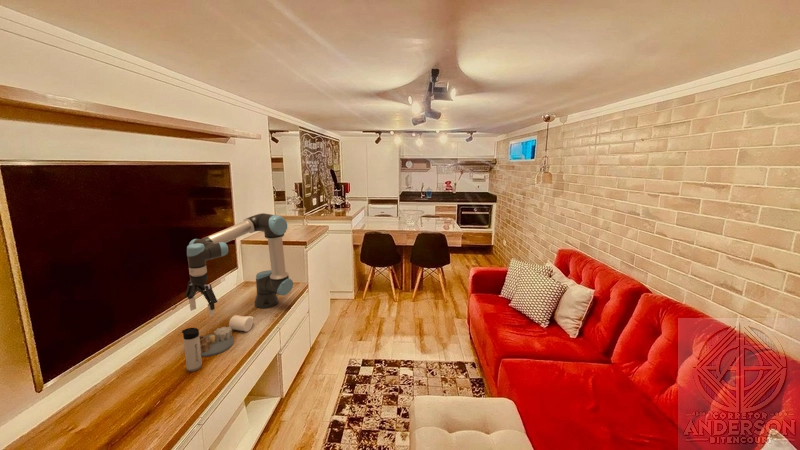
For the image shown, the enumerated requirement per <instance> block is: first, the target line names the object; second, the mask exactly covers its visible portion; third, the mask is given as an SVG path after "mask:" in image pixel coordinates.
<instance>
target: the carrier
mask: <svg viewBox="0 0 800 450" xmlns="http://www.w3.org/2000/svg"><path fill="white" fill-rule="evenodd" d="M205 336H206V338H208V339H209V340H210V345H211V348H210V349H208V351H207V352H202V354H201V358H203V357H204V358H207V357H213V356H217V355H219V354H220V355H221V353H224V352H226V351H227V350H229V349H231V347H232V346H234V343H235V341H234V340H235V338H234V336H233V329H231V327H229V326H227V327H226V326H222V327H217V328H216V329H215V330H213V333H211V334H210V333H209V334H207V335H205Z"/></svg>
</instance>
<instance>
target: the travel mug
mask: <svg viewBox="0 0 800 450" xmlns="http://www.w3.org/2000/svg"><path fill="white" fill-rule="evenodd" d="M199 331H200V330H199V328H197V327H188V328H185V329H182V331H181V333H182V335H183V347H184V357H185V367H186V371H187V372H195V371H199V370H200V369H201V368H202V366H203V359H202V357H201V348H200V337H199V336H200V332H199Z"/></svg>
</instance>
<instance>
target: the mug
mask: <svg viewBox="0 0 800 450" xmlns="http://www.w3.org/2000/svg"><path fill="white" fill-rule="evenodd" d="M253 323H254V317H253V316H251V315H250V316H249V315H247V316H243V315H237V314H236V315H235V314H234V315H233V316H232V317H230V319H229V322H228V327H231V329H232V331H233V330H234V331H240V332H246V333H247V332H249V331H250V330H251V329H252V326H253Z"/></svg>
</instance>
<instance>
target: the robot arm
mask: <svg viewBox="0 0 800 450" xmlns="http://www.w3.org/2000/svg"><path fill="white" fill-rule="evenodd" d="M287 230H288V223H287V220H286V219H285V218H284V217H283V216H281V215H277V214H270V213H264V212H263V213H257V214H254V215H251V216H249V217H247V218H244V219H243V221H242V222H239V223H236V224H234V225H231V226H229V227H227V228H225V229H223V230H220V231H217V232H215V233H212V234H211V235H208V236H205V237H203V238H201V239H200V238H194V239H192V240H191V241H190V242H189V243H188V245H187V246H186V257H187V262H188V263H187V264H188V272H189V281H187V287H186V291H185V295H184V296H185V297H186V298H187V299H188V304H189V310H190V311H191V312H192V311H194V310H196V309H197V304H196V297H195V295H197V292H199V293H200V294H201V295H203V297H204V298H205V300H206V302H207V303H208V304H207V312H208V316H209V317H212V316H214V315H215V313H216V312H215V307H216V306H215V304H217V303H218V299H217V297H216V295H215V293H214V290H213V288H212V284H207V281H208V269H207V261H211V260H213V259H217V258H222V257H224V256H226V255H228V254H229V246H228V244H227V243H229V242H232V241H234V240H236V239H238V238H240V237H242V236H245V235H247V234H248V233H249V234H252V233H256V232H262V233H264V239H267V244H268V245H267V246H268V253H269V259H270V260H269V261H270V268H271V269H270V270H263V271H262V270H261V271H260V272H258V273H256V275H255V285H256V296H255V299H254V307H255V308H257V309H270V308H273V307H275V306H277V305H278V303H279V298H278V296H282V297H283V296H287V295H289V293H290V292H291V291H292V289H293V288H294V281H293V280H292V279H291V278H290V276H289V272H287V271H286V263H285V262H286V261H285V253H284V244H283V243H284V242H283V238H284V236H285V233H287ZM277 295H278V296H277Z"/></svg>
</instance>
